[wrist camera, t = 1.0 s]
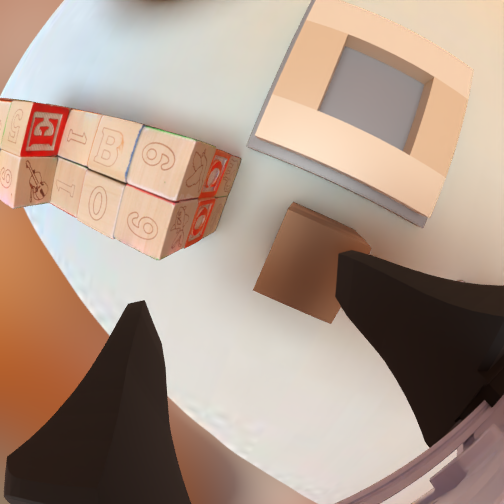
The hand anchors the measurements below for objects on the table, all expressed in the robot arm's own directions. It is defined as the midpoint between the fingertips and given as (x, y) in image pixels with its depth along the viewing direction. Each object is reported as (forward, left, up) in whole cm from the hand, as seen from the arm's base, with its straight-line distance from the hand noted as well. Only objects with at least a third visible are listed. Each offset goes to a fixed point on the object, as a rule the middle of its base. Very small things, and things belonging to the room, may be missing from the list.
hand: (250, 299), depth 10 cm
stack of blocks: (+15, -1, -12) cm, 20 cm away
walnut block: (-2, 0, -12) cm, 12 cm away
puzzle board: (-2, -12, -12) cm, 17 cm away
